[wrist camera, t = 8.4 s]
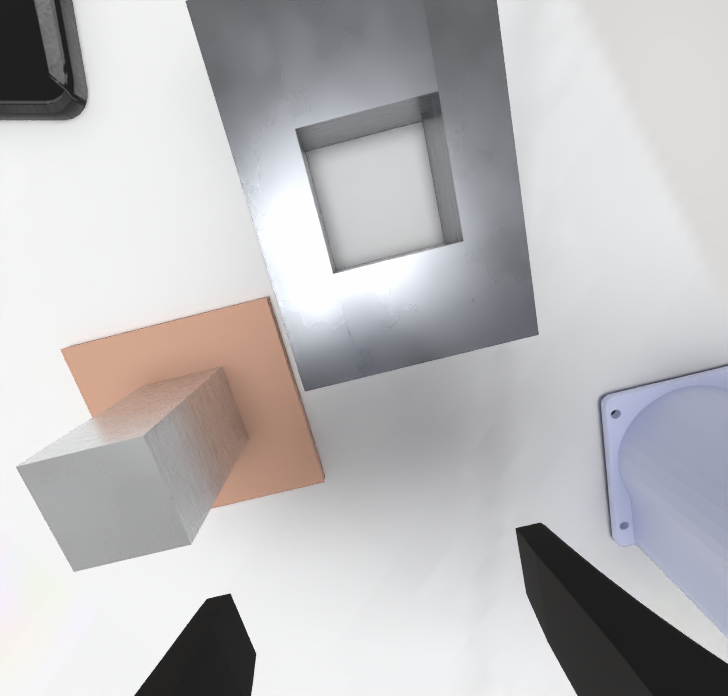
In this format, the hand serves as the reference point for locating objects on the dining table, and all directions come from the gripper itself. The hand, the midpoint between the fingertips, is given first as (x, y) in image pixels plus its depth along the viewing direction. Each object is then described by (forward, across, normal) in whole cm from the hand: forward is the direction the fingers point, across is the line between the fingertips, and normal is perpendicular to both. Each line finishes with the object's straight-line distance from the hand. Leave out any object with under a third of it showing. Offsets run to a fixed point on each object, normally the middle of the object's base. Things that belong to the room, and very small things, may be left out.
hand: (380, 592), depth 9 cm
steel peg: (+10, +8, -2) cm, 13 cm away
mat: (+10, +8, -2) cm, 13 cm away
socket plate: (+10, -3, -10) cm, 15 cm away
